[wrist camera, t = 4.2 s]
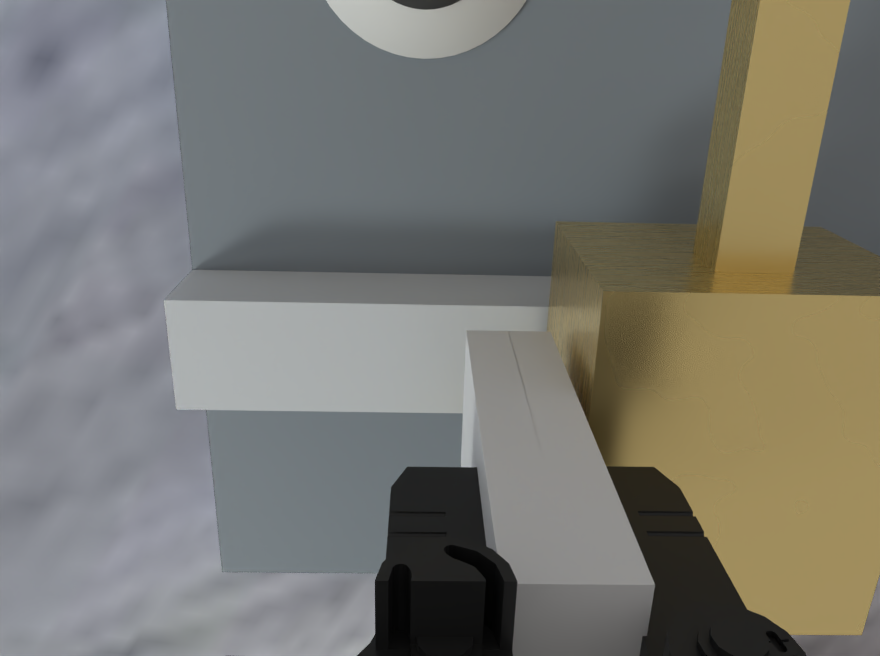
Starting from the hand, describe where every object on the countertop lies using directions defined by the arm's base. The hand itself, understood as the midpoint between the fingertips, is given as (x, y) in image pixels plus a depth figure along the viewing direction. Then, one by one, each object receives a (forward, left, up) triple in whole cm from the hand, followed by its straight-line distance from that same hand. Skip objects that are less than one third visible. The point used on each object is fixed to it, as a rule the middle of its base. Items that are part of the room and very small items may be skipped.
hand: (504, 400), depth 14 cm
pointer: (+3, +3, -3) cm, 6 cm away
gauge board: (+6, +2, -5) cm, 8 cm away
